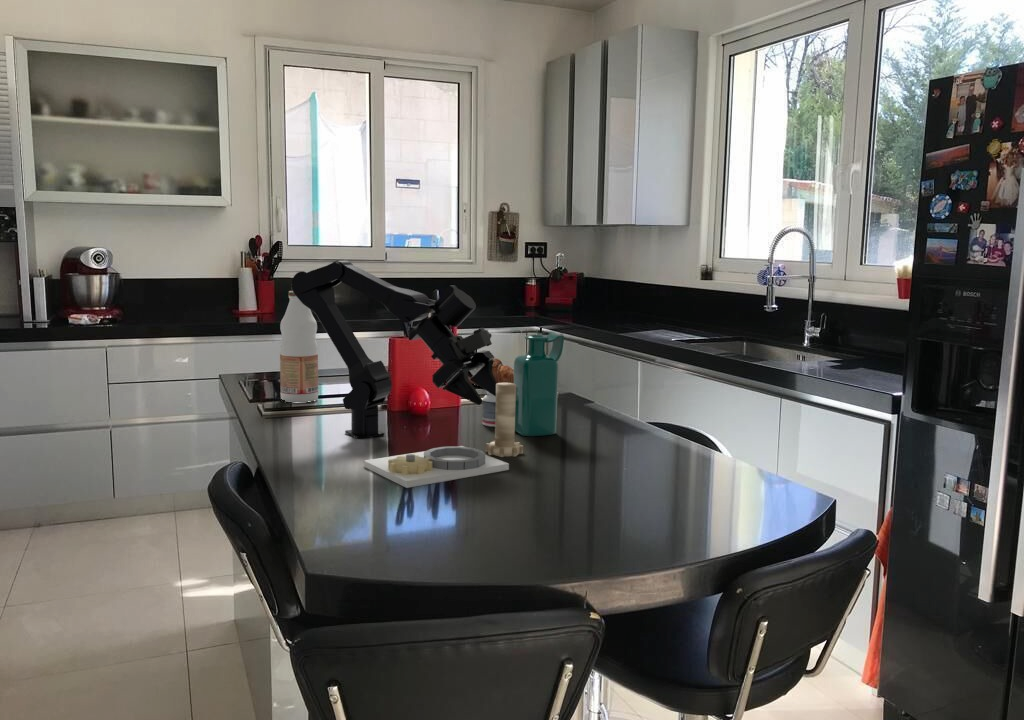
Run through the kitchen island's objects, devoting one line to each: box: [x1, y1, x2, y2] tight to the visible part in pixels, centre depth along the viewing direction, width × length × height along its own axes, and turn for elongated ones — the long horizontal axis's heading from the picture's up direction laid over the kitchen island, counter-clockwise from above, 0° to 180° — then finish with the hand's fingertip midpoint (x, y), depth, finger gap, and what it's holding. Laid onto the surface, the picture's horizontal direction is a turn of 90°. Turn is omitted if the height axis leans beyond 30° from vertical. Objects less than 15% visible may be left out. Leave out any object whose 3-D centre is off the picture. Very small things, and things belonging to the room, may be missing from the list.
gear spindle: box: [485, 383, 524, 458], centre depth 177 cm, size 8×8×14 cm
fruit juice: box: [279, 290, 319, 402], centre depth 223 cm, size 9×9×28 cm
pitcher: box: [513, 332, 565, 437], centre depth 195 cm, size 10×8×22 cm
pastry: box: [468, 357, 514, 387], centre depth 254 cm, size 17×15×8 cm
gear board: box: [363, 445, 510, 489], centre depth 164 cm, size 16×22×4 cm
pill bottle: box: [482, 390, 496, 428], centre depth 202 cm, size 5×5×9 cm
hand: (490, 399), depth 177 cm, fingers open, 9 cm apart
